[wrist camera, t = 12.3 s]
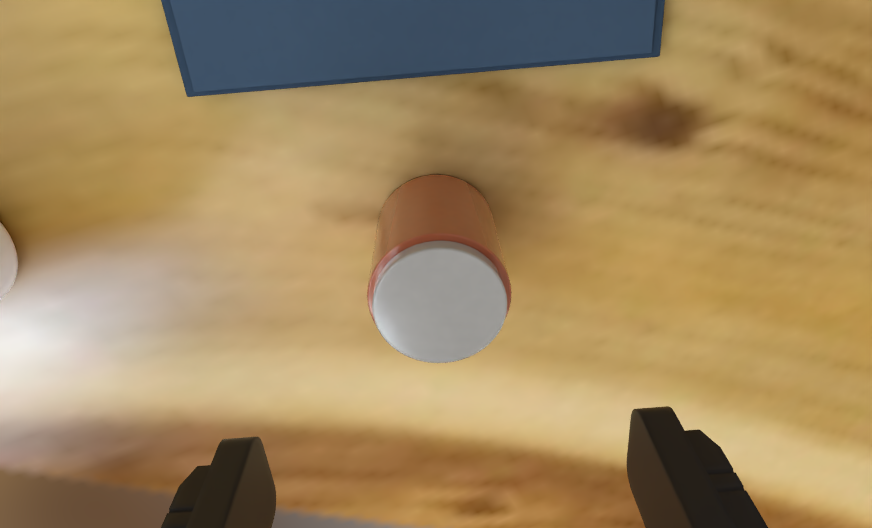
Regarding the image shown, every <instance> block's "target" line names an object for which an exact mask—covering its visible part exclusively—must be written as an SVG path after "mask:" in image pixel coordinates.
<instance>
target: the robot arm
mask: <svg viewBox="0 0 872 528" xmlns="http://www.w3.org/2000/svg"><path fill="white" fill-rule="evenodd" d="M627 472H628V479H629V483H630V487H631V490H632V493H633V495H634V498H635V501H636V503H637V506H638V508H639V511H640V514H641V516H642V519H643V521H644V524H645V527H646V528H768V527H767V525H766V523H765V522H764V520H763V518H762V517H761V515H760V513H759V512H758V510H757V508H756V507H755V505H754V503H753V501H752V500H751V498H750V496H749V495H748V493H747V491H744V488H743V485H742V483H741V481H740V480H739V478H738V476H737V475H736V473H734V472H733V468H732V466H731V464H730V463H729V461H728V459H727V458H726V456H725V454H724V453H723V451H722V449H721V448H720V447H719V446H718V445H717V444H716V443H715V442H713V441H712V440H711V439H710V438H709V437H708V436H706V435H705V434H704V433H703V432H702V431H700V430H688V431H684V429H683V427H682V425H681V424H680V422H679V420H678V418H677V416H676V414H675V413H674V411H673V410H672V408H670V407H655V408H642V409H634V410H633V411H632V414H631V422H630V433H629V443H628V453H627ZM275 509H276V491H275V485H274V481H273V478H272V474H271V471H270V468H269V464H268V461H267V457H266V454H265V451H264V447H263V444H262V441H261V439H260V438H259V437H246V438H233V439H224V440H222V441H221V442H220V444H219V446H218V448H217V451H216V453H215V456H214V458H213V461H212V463H211V465H208V466H197V467H196V468H195V470H194V471H193V472H192V473H191V474H190V475H189V476H188V477H187V478H186V480H185V481H184V482H183V483H182V484H181V485H180V486H179V488H178V490H177V493H176V495H175V497H174V499H173V502H172V504H171V506H170V508H169V513H168V514H167V515H166V517H165V520H164V522H163V524H162V527H161V528H271V527H272V523H273V519H274V515H275Z"/></svg>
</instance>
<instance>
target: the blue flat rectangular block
mask: <svg viewBox="0 0 872 528" xmlns="http://www.w3.org/2000/svg"><path fill="white" fill-rule="evenodd" d="M161 1H162V5H163V9H164V12H165V16H166V20H167V24H168V27H169V31H170V35H171V38H172V42H173V46H174V50H175V53H176V57H177V61H178V65H179V68H180V72H181V76H182V79H183V83H184V87H185V91H186V94H187V96H188V97H193V96H205V95H216V94H228V93H240V92H251V91H263V90H275V89H287V88H298V87H310V86H322V85H333V84H345V83H357V82H368V81H380V80H392V79H403V78H415V77H427V76H438V75H450V74H462V73H473V72H485V71H497V70H508V69H520V68H532V67H544V66H555V65H567V64H579V63H590V62H602V61H614V60H625V59H637V58H649V57H658V56H660V48H661V37H662V26H663V15H664V3H665V0H161Z"/></svg>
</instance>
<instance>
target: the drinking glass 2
mask: <svg viewBox="0 0 872 528" xmlns="http://www.w3.org/2000/svg"><path fill="white" fill-rule="evenodd" d="M17 271H18V257H17V252H16V248H15V245H14V243H13V241H12V239H11V237H10V235H9V233H8V232H7V230H6V229H5V227H4V226H3V225H2V223H1V222H0V300H1V299H2V298H3V297H4V296H5V295H6V294H7V293H8V292H9V290H10V289H11V288H12V286H13V284H14V282H15V279H16V276H17Z"/></svg>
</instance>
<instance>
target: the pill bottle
mask: <svg viewBox="0 0 872 528" xmlns="http://www.w3.org/2000/svg"><path fill="white" fill-rule="evenodd" d="M367 299H368V307H369V311H370V314H371V316H372V319H373V321H374V322H375V324H376V326H377V328H378V330H379V332H380V333H381V335H382V336H383V337H384V339H385V340H386V341H387V342H388V343H389V344H390V345H391V346H392V347H393V348H395V349H396V350H397V351H399V352H400V353H402V354H404V355H406V356H408V357H410V358H413V359H416V360H419V361H424V362H431V363H447V362H454V361H458V360H462V359H465V358H467V357H470V356H472V355H474V354H476V353H478V352H479V351H481V350H482V349H484V348H485V347H486V346H487V345H488V344H490V342H491V341H492V340H493V339H494V338H495V337H496V335H497V334H498V333H499V331H500V329H501V327H502V325H503V323H504V320H505V318H506V316H507V313H508V311H509V307H510V303H511V284H510V280H509V277H508V273H507V269H506V265H505V261H504V258H503V254H502V250H501V246H500V243H499V239H498V235H497V231H496V228H495V224H494V220H493V216H492V213H491V210H490V207H489V205H488V203H487V202H486V200H485V198H484V197H483V196H482V195H481V193H480V192H479V191H477V190H476V189H475V188H474V187H473V186H471V185H470V184H468V183H467V182H465V181H463V180H460V179H458V178H455V177H451V176H447V175H427V176H421V177H418V178H415V179H412V180H410V181H408V182H406V183H404V184H403V185H401V186H400V187H399V188H397V189H396V190H395V191H394V192H393V193H392V194H391V195H390V196H389V198H388V199H387V200H386V202H385V204H384V206H383V207H382V210H381V213H380V216H379V221H378V227H377V233H376V239H375V246H374V252H373V258H372V265H371V271H370V277H369V283H368V292H367Z"/></svg>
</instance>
